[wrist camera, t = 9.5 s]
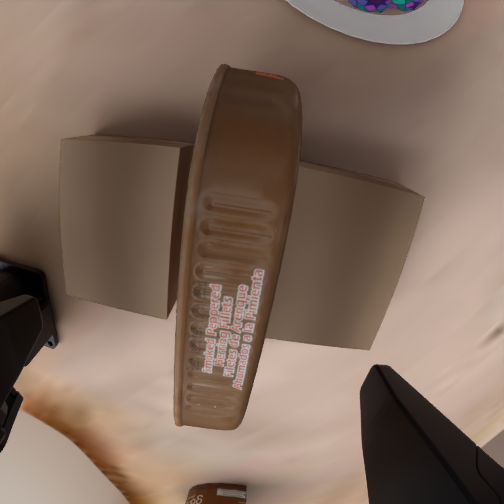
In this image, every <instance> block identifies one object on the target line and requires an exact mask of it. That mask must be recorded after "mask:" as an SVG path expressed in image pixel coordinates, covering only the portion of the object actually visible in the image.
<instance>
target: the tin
mask: <svg viewBox="0 0 504 504" xmlns="http://www.w3.org/2000/svg"><path fill="white" fill-rule="evenodd" d="M301 140H302V106H301V98H300V93H299V90H298V88H297V86H296V85H295V84H294V83H293V82H292V81H291V80H289V79H287V78H285V77H282V76H279V75H274V74H269V73H263V72H256V71H250V70H243V69H237V68H231V67H230V66H229V65H227V64H222V65H220V66H219V68H218V69H217V71H216V73H215V75H214V77H213V79H212V81H211V83H210V87H209V89H208V93H207V96H206V99H205V103H204V107H203V111H202V115H201V119H200V123H199V127H198V131H197V135H196V140H195V145H194V150H193V157H192V162H191V166H190V174H189V179H188V189H187V195H186V203H185V211H184V221H183V232H182V241H181V253H180V268H179V277H178V293H177V310H176V313H177V316H176V332H175V364H174V420H175V424H176V425H177V426H180V427H181V426H183V425H187V426H193V427H200V428H208V429H216V430H234V429H236V428H237V427H238V426H239V425H240V424H241V422H242V420H243V417H244V415H245V412H246V409H247V405H248V402H249V398H250V394H251V390H252V387H253V383H254V379H255V375H256V372H257V368H258V363H259V360H260V356H261V352H262V348H263V344H264V340H265V336H266V331H267V327H268V323H269V318H270V314H271V310H272V306H273V302H274V297H275V292H276V287H277V282H278V278H279V274H280V270H281V265H282V259H283V255H284V250H285V245H286V240H287V235H288V230H289V225H290V220H291V215H292V210H293V203H294V197H295V191H296V184H297V177H298V170H299V161H300V152H301Z"/></svg>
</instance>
